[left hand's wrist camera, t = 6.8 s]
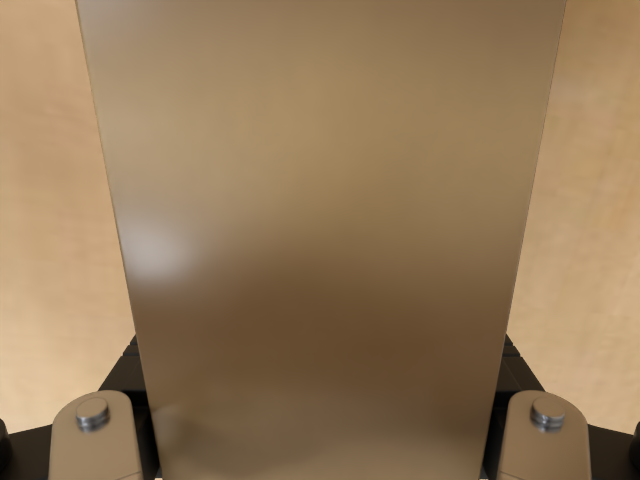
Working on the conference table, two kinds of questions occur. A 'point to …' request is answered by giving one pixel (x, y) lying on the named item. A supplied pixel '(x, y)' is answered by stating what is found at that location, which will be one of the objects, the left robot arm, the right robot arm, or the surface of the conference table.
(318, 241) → the box
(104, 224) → the conference table surface
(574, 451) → the left robot arm
